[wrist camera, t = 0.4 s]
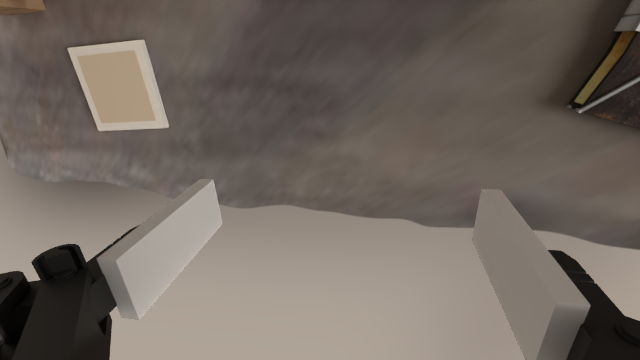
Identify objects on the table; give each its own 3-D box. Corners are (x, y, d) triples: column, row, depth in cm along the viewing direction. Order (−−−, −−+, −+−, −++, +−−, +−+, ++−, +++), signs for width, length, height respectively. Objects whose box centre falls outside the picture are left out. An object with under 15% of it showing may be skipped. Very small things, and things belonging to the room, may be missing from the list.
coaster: (72, 47, 44) (66, 48, 43) (144, 39, 42) (139, 39, 41) (102, 129, 49) (98, 131, 48) (169, 126, 46) (165, 128, 46)
